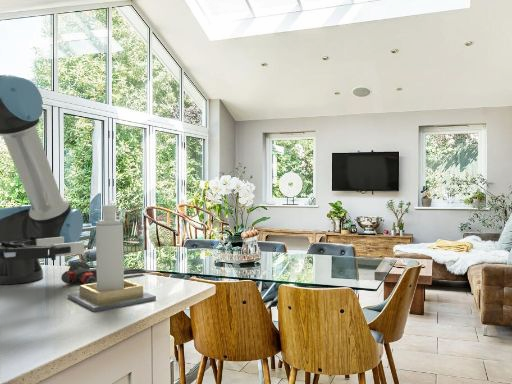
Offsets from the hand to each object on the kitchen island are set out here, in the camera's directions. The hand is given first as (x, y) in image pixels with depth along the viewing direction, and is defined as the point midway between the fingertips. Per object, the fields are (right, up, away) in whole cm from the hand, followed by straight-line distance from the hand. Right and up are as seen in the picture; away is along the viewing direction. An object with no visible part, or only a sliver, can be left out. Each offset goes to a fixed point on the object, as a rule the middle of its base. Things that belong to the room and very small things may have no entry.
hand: (73, 244), depth 112 cm
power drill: (-1, -15, +29) cm, 33 cm away
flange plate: (+7, -15, +7) cm, 18 cm away
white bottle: (+7, -14, +6) cm, 17 cm away
